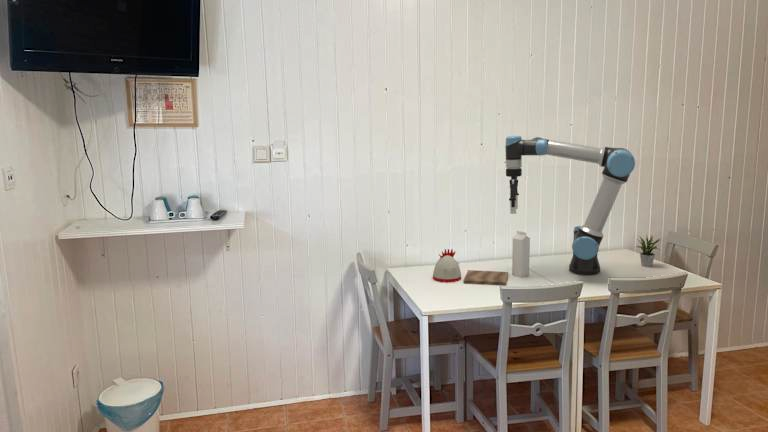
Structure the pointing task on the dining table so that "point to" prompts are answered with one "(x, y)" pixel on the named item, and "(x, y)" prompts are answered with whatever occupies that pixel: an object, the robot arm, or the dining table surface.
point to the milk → (520, 254)
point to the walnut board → (486, 277)
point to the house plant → (647, 252)
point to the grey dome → (447, 268)
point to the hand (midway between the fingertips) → (514, 211)
